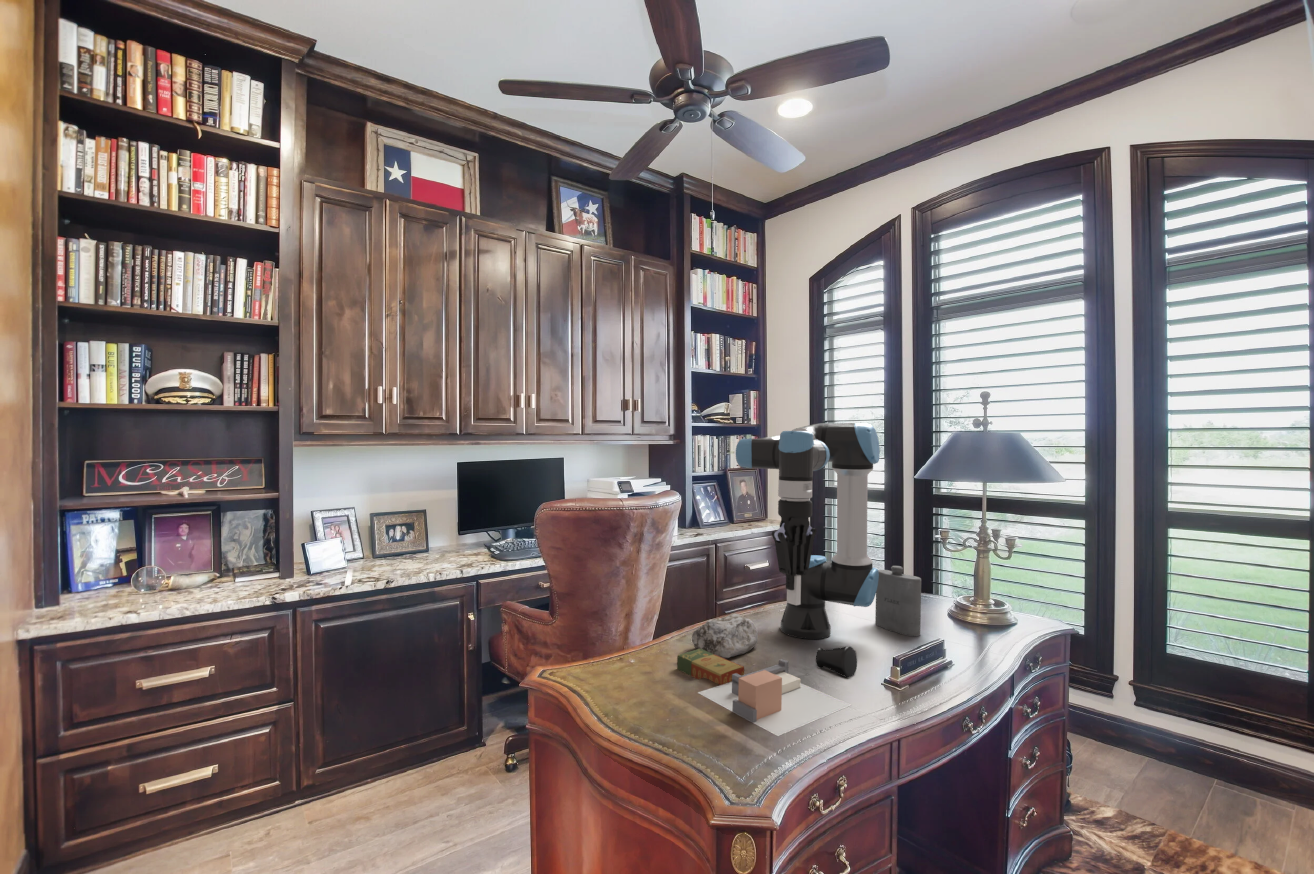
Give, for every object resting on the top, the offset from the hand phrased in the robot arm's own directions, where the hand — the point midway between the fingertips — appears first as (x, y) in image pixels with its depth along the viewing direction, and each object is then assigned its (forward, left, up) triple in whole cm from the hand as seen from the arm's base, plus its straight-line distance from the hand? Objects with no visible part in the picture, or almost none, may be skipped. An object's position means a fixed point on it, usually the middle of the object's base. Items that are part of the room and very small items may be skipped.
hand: (793, 603), depth 133 cm
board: (-2, -4, -22) cm, 23 cm away
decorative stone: (-33, +13, -23) cm, 42 cm away
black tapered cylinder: (-6, +29, -23) cm, 37 cm away
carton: (-22, -5, -23) cm, 32 cm away
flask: (-16, +69, -23) cm, 74 cm away
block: (+1, -11, -21) cm, 24 cm away
